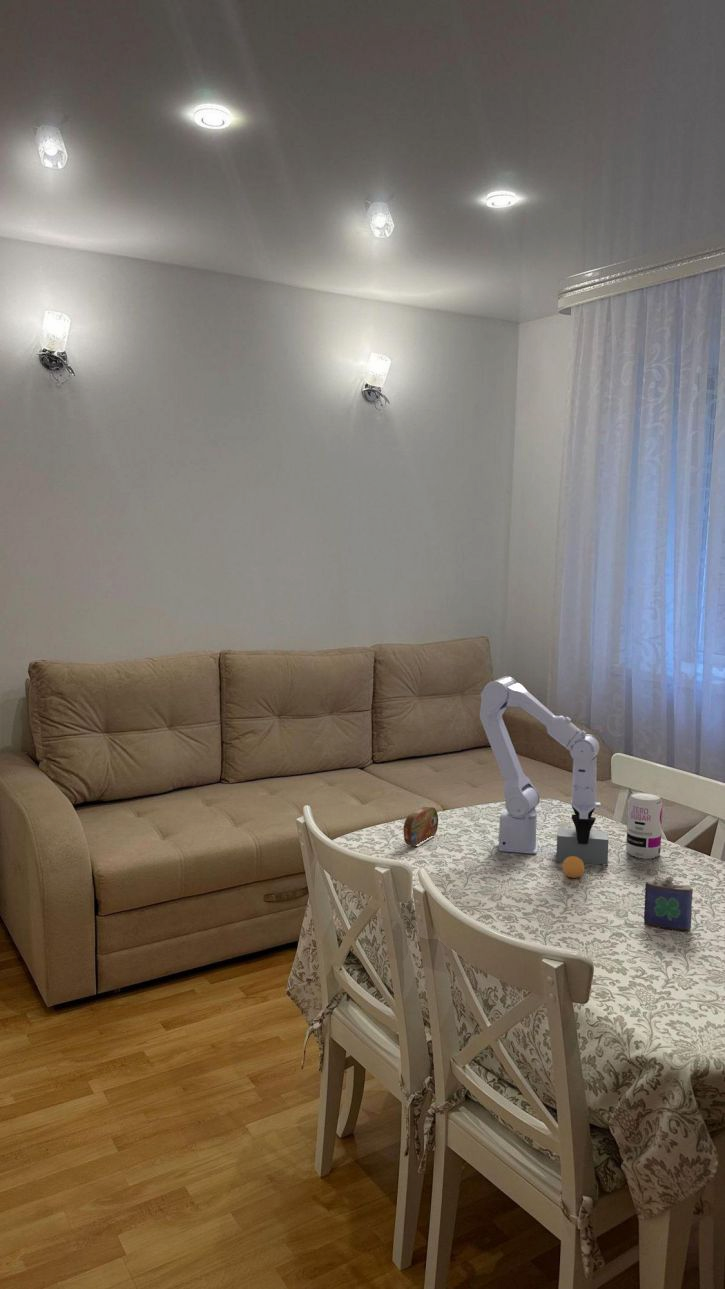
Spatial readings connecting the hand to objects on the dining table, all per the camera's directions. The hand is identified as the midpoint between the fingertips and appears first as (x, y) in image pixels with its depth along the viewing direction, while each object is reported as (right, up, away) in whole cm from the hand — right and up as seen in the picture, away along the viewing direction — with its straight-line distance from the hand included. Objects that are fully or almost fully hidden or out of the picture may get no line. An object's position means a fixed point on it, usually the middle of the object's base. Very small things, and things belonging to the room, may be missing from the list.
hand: (582, 838), depth 225 cm
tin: (-39, -4, +13) cm, 42 cm away
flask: (+8, -10, -38) cm, 40 cm away
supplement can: (+16, -5, +4) cm, 17 cm away
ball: (-5, -4, -12) cm, 13 cm away
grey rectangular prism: (0, -5, +1) cm, 5 cm away
